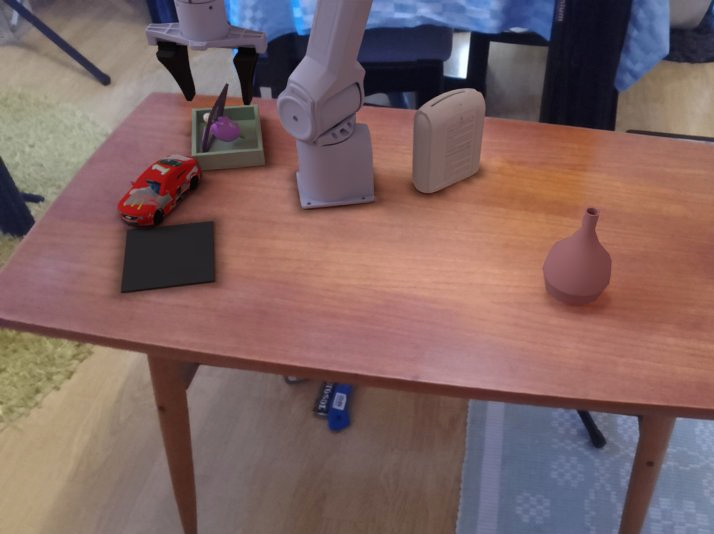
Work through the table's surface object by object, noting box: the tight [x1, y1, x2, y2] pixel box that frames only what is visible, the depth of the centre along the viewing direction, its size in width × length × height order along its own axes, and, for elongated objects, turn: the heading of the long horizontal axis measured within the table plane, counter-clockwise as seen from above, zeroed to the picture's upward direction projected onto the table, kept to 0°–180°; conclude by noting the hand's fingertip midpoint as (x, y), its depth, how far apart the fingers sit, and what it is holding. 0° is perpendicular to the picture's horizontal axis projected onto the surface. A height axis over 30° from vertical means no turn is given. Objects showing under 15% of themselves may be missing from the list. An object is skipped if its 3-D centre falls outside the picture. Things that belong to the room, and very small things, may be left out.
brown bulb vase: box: [542, 206, 613, 307], centre depth 75 cm, size 8×8×12 cm
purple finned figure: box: [202, 82, 245, 153], centre depth 94 cm, size 7×5×9 cm
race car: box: [116, 153, 203, 227], centre depth 86 cm, size 13×5×4 cm, turn 160°
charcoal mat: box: [120, 220, 215, 294], centre depth 80 cm, size 10×11×1 cm
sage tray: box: [191, 103, 266, 172], centre depth 96 cm, size 9×12×2 cm
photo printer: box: [411, 87, 487, 194], centre depth 89 cm, size 10×4×12 cm, turn 131°
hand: (219, 99), depth 92 cm, fingers open, 7 cm apart
